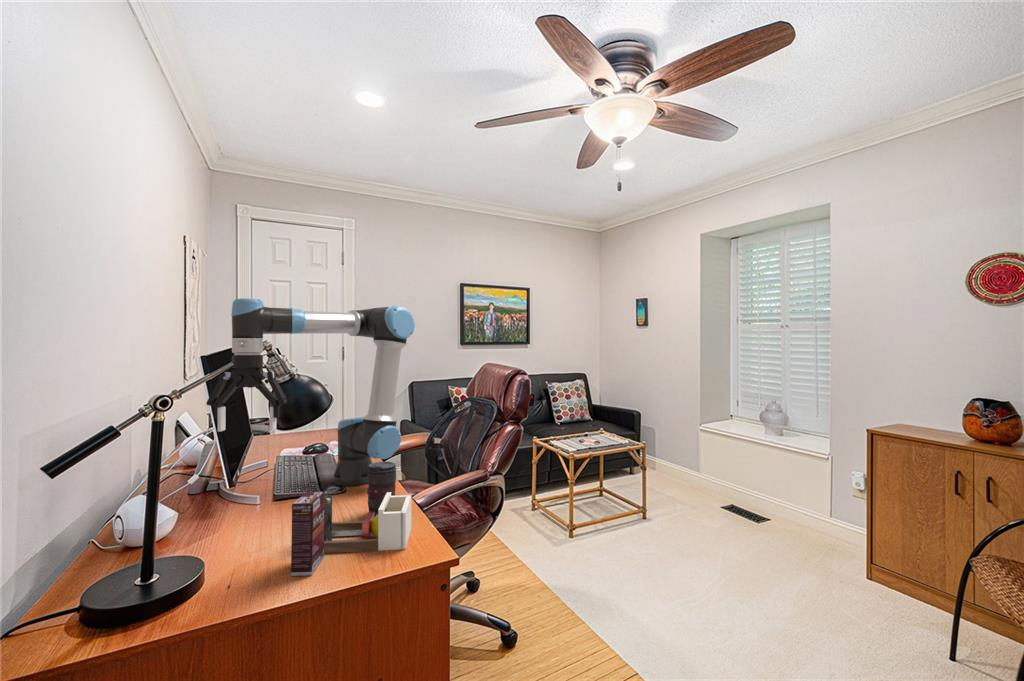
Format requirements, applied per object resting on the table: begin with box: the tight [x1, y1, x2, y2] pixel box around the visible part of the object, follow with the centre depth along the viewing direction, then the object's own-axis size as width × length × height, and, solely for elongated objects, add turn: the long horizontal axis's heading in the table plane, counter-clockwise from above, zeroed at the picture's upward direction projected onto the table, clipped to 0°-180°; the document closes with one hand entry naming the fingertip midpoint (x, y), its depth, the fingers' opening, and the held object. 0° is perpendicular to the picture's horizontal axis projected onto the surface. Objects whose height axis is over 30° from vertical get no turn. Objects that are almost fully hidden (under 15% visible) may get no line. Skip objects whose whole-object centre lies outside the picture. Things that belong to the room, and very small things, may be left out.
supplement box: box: [290, 491, 326, 577], centre depth 104 cm, size 9×5×16 cm, turn 5°
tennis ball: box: [371, 511, 388, 539], centre depth 118 cm, size 7×7×7 cm
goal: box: [377, 492, 412, 552], centre depth 119 cm, size 13×7×10 cm, turn 6°
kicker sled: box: [324, 495, 374, 541], centre depth 117 cm, size 8×14×11 cm, turn 97°
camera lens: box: [366, 461, 397, 517], centre depth 135 cm, size 8×8×15 cm
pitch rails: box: [324, 520, 378, 554], centre depth 117 cm, size 13×17×2 cm
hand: (247, 430), depth 127 cm, fingers open, 13 cm apart
